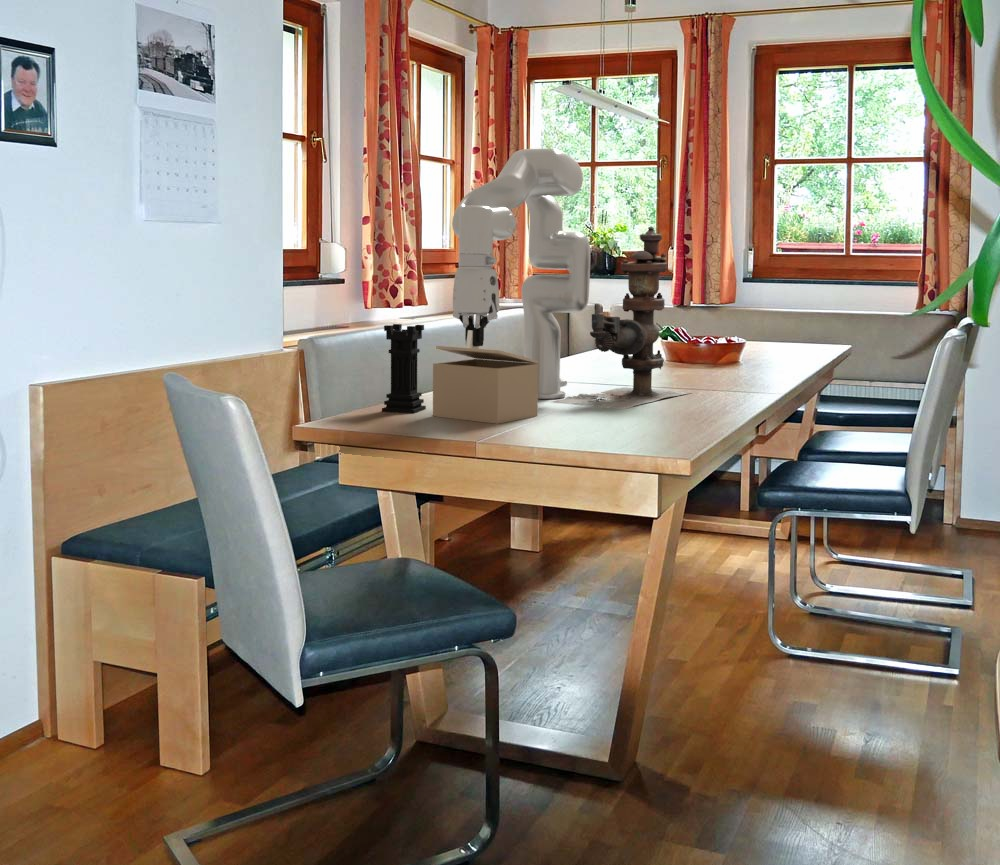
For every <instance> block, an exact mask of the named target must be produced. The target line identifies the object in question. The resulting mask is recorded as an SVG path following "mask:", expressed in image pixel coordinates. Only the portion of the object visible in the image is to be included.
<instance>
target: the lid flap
mask: <svg viewBox="0 0 1000 865" xmlns="http://www.w3.org/2000/svg"><path fill="white" fill-rule="evenodd" d="M479 347H480V346H473V331H472V330H468V335H467V342H466V341H465V347H458V346H457V347H456V346H455V347H454V346H444V345H436V349H437V350H441V351H445V352H448V353H452V354H456V355H459V356H460V355H461V356H464V357H469V358H471V359H483V360H495V361H508V362H520V363H524V362H526V363H538V361H537V360H533V359H530V358H526V357H524V356H522V355H518V354H515V353H510V352H506V351H503V350H500V349H499V350H498V349H497V350H496V349H485V348H479Z"/></svg>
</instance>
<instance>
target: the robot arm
mask: <svg viewBox="0 0 1000 865" xmlns="http://www.w3.org/2000/svg"><path fill="white" fill-rule="evenodd" d="M583 180H584V175H583V171H582V168H581V166H580V164H579V163H578V162H577V161H576V160H575V159H574V158H573V157H572V156H570V155H569V154H567V153H566V152H564V151H562V150H560V149H558V148H550V147H548V148H524V149H519V150H517V151H515V152H514V153H513V154H511V155H510V157H509V158H508V160H507V162H506V163H505V165H504V166H503V167H502V169H501V171H500V173H499V174H498V176H497V177H496V178H495V179H492V180H490V181H488V182H487V183H484V184H482V185H480V186H478V187H477V188H475V189H473V190H471V191H469V192H468V193H467V194H465V196H464V197H463V198H462V200H461V201H460V202H459V203H458V206H457V207H456V209H455V210H454V213H453V217H452V223H451V225H452V226H451V227H452V230H453V232H454V235H455V236H456V237H457V238H458V268H456V271H455V275H454V278H453V288H452V290H453V291H452V309H453V312H452V317H453V318H455V319H457V320H459V321H460V322H461V324H462V327H463V328H465V334H464V335H465V337H464V338H465V343H466V342H467V335H468V330H472V331H473V346H479V347H483V346H484V340H485V338H484V337H485V334H484V333H485V328H487V325H488V324H489V323H490V322H492V321H494V320H497V319H498V313H499V311H500V288H499V281H498V274H497V271H496V270H497V269H493V267H494V264H496V263H497V258H496V257H493V256H494V254H493V252H494V249H493V248H494V247H493V246H494V242H493V241H505V240H507V239H509V238H510V237H512V236H513V235H514V232H515V231H516V226H517V220H516V216H515V215H514V213H513V211H512V210H513V209H515V208H518V207H520V206H522V205H523V204H524V203H525V205H526V207H527V209H528V213H529V227H528V228H529V230H528V232H529V233H528V259H529V260H528V261H529V263H530V265H531V266H532V267H534V268H536V269H539V270H559V271H561V270H565V271H566V270H567V271H568V273H569V274H566V275H565V274H563V275H562V274H534V275H530V276H528V277H527V278H526V279H525V280H524V281H523V282H522V286H521V288H520V289H521V293H520V294H521V301H522V308H523V319H524V321H523V322H524V326H523V328H524V330H523V331H524V334H523V335H524V338H523V347H524V348H523V357H526V358H530V359H533V360H537V361H538V363H533V364H538V400H543V399H548V400H550V399H551V400H552V399H563V398H564V397H565V398H566V392H565V391H563V390H561V388H563V387H567V385H568V382H567V380H566V379H565V378H563V379H561V376H560V375H561V338H562V331H561V330H562V329H561V327H560V324H559V321H558V320H557V318H556V317H555V316H554V314H553V313H564V314H565V313H566V314H567V313H568V314H569V313H570V314H571V313H572V314H578V313H582V312H584V311H585V310H586V308H587V306H588V305H589V304H588V303H589V297H590V279H591V277H590V276H591V246H590V241H589V239H588V237H587V236H586V235H585V234H584V233H581V232H577V231H574V232H573V231H563V223H564V222H563V215H564V214H563V210H562V208H561V206H560V204H559V203H558V201H557V200H556V199H555V197H571V196H575V195H577V194H578V193H579V192H580V191H581V188H582V187H583ZM523 363H526V362H523Z"/></svg>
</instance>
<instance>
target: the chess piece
mask: <svg viewBox="0 0 1000 865" xmlns="http://www.w3.org/2000/svg"><path fill="white" fill-rule="evenodd" d="M402 328H403V327H402V324H401V323H393V324H392V325H390V324H389V325H388V324H386V325H384V326H383V331H384V332H385V334H386V340H388V341H389V340H390V349H388V354H390V393H386V397H385V398H386V400H385V401H383V405H384V406H385V407H382V408H381V412H383V413H384V412H385V413H397V412H398V414H399V413H401V414H417V413H419V412H421V411H422V412H423V411H425V410H426V409H427V406H426V405H422V404H424V399H423V398H420V397H423V396H422V394H423V393H422V392H418V353H420V348H418V340H422V339H423V331H424V330H425V324H415V325H408V326H407V325H406V329H404V328H403V329H402ZM387 399H388V400H387Z"/></svg>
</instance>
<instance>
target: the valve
mask: <svg viewBox="0 0 1000 865" xmlns="http://www.w3.org/2000/svg"><path fill="white" fill-rule="evenodd" d="M647 229H648V230H647V231H646V232H645V233H642V234H639V239H640V240H641V242H643V250H637V251H636V252H634V253H632V254H631V256H630V257H629V260H635V261H628V260H627V259H624V260H622V262H621V263H620V270H621V272H622V273H623V274H624V275H625V274H627V273H628V277H627V278H628V284H627V285H628V286H627V287H628V291H629V292H627V293H625V295H624V298H623V299H622V310H623V312H628V313H629V311H631V312H632V315H633V316H632V318H633V319H629V318H627V319H625V318H624V319H621V318H620V317H619V316H606V315H605V313H604V312H601V304H600V303H594V313H592V314H591V329H592V331H590V332H589V334H590V336H591V337H592V338H594V341H595V342H594V343H595V347H596V349H597V350H598V351H600V352H604V353H605V352H609V351H611V352H612V353H614V354H616V355H620V356H622V358H621V366H622V368H623V369H630V370H632V373H633V379H632V380H633V382H632V383H633V385H632V387H627V386H626V387H618V388H614V389H609V390H604V391H601V392H600V393H597V392H596V393H590V394H587V393H579V394H578V395H574V396H573V395H572V396H570V395H569V396H567V397H565V398H560V399H558V400H553V401H552V403H558V404H566V405H567V404H568V405H569V404H570V405H578V406H585V405H586V406H593V407H598V408H608V409H609V408H610V409H619V410H620V409H621V410H623V409H629V408H632V407H635V406H639V405H642V404H647V403H651V402H656V401H659V400H662V399H665V398H671V397H677V396H678V397H679V396H682V395H687V394H690V392H684V391H674V390H666V389H665V390H664V389H655V388H654V389H653V388H652V373H653V370H654V369H659V370H662V367H663V366H664V363H665V359H664V357H663V354H661V350H660V349H658V350H657V353H656V354H654V343H656V342H657V341H658V340H659V336H660V329H659V328H658V326H657V325H655V323H654V316H655V313H654V312H655V311H663V310H664V309H665V305H666V303H665V298H663V295H662V293H661V292H659V290H660V273H665V272H666V271H667V270H668V262H667V257H666V254H665V253H663V252H662V253H661V254H660V255H657V254H658V253H659V252H658V251H659V242H660V241H661V240H663V235H662V234H660V233H657V232H656V231H655V228H654V226H648V228H647ZM631 295H632V297H631ZM655 296H656V297H655Z"/></svg>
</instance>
